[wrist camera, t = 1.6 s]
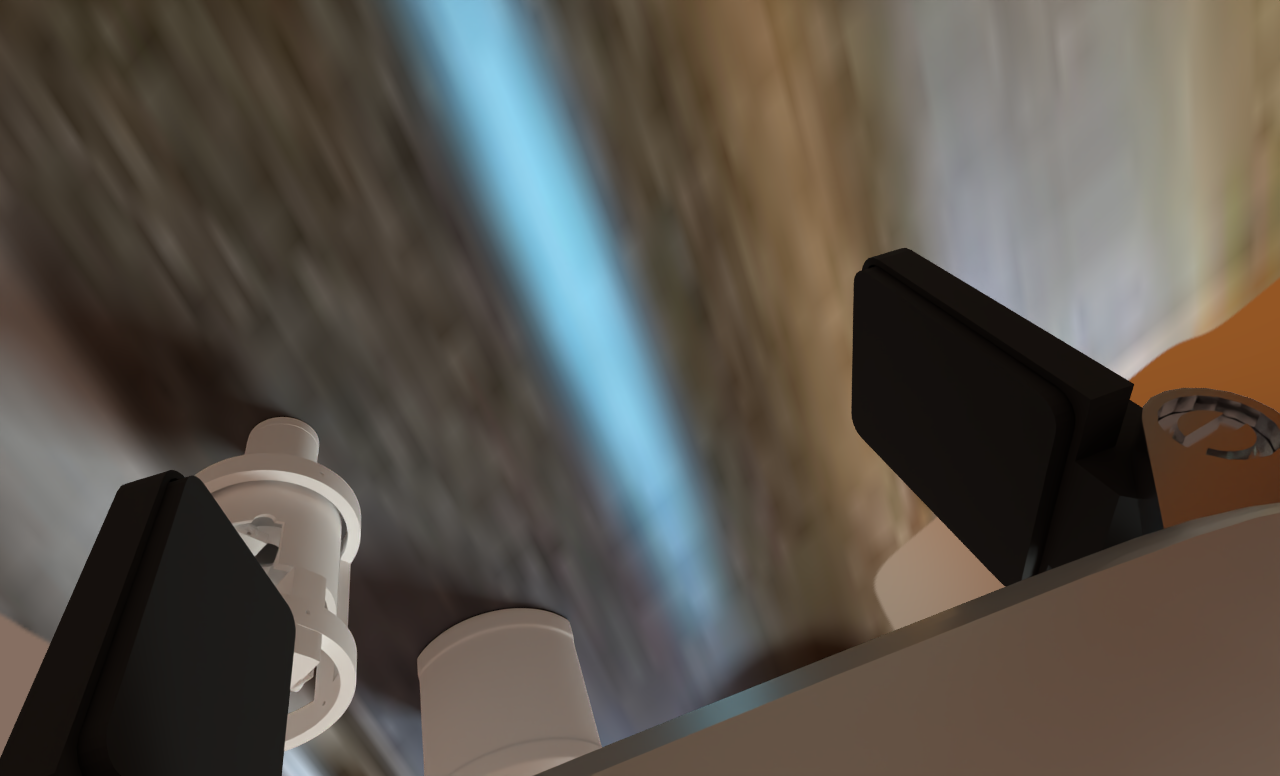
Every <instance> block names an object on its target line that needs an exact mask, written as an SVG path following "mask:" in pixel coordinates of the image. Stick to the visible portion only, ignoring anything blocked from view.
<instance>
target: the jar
mask: <svg viewBox="0 0 1280 776" xmlns="http://www.w3.org/2000/svg"><path fill="white" fill-rule="evenodd" d="M417 668H418V678H419V681H420V699H421V718H422V737H423V756H424V775H425V776H533V775H536V774H538V773H541V772H543V771H546V770H548V769H550V768H553V767H555V766H558V765H560V764H563V763H565V762H568V761H570V760H573V759H575V758H578V757H580V756H582V755H585V754H587V753H590V752H592V751H595V750H597V749H600V748H602V746H601V743H600V739H599V735H598V732H597V728H596V724H595V720H594V717H593V713H592V709H591V705H590V702H589V698H588V694H587V691H586V687H585V683H584V679H583V676H582V672H581V668H580V664H579V661H578V657H577V653H576V649H575V646H574V640H573V634H572V630H571V626H570V623H569V621H568V620H567V619H565V618H563V617H562V616H559V615H557V614H555V613H552V612H548V611H544V610H539V609H531V608H511V609H502V610H496V611H492V612H487V613H484V614H480V615H477V616H474V617H472V618H469V619H467V620H464V621H462V622H460V623H458V624H456V625H454V626H453V627H451V628H449V629H448V630H446V631H444V632H443V633H442V634H440V635H439V636H438V637H436V638H435V639H434V640H433V641H432V642H431V643H430V644H429V645H428V646H427V647H426V648H425V649H424V650H423V651H422V652H421V654H420V655H419V656H418V658H417Z"/></svg>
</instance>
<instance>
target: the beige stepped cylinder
mask: <svg viewBox="0 0 1280 776" xmlns="http://www.w3.org/2000/svg"><path fill="white" fill-rule="evenodd" d="M318 450H319V439H318V436H317V434H316V432H315V431H314V430H313V429H312V428H311V427H310V426H309V425H308V424H306V423H305V422H303V421H300V420H298V419H294V418H289V417H276V418H271V419H267V420H265V421H263V422H261V423H259V424H258V425H256V426H255V427H254V428H253V430H252V431H251V432H250V434H249V437H248V441H247V445H246V450H245V454H244V455H241V456H236V457H232V458H229V459H225V460H223V461H220V462H217V463H215V464H213V465H211V466H209V467H207V468H205V469H203V470H202V471H200V472H199V473H197V474H196V475H195V476H196V477H198V478H199V479H200V480H201V481H202V482H203V483H204V484H205V486H206V487H207V489H208V490H209V492H210V493H211V495H212V496H213V497H214V499H215V500H216V502H217V503H218V505H219V506H220V507H221V509H222V510H223V512H224V513H225V515H226V516H227V518H228V519H229V520H230V522H231V523H232V525H233V526H234V528H235V529H236V531H237V532H238V533H239V535H240V536H241V538H242V539H243V541H244V542H245V543H246V545H247V546H248V548H249V549H250V551H251V552H252V554H253V555H254V556H255V558H256V559H257V561H258V562H259V564H260V565H261V567H262V568H263V569H264V571H265V572H266V574H267V575H268V577H269V578H270V579H271V581H272V582H273V584H274V585H275V587H276V588H277V590H278V591H279V592H280V594H281V595H282V597H283V598H284V600H285V601H286V603H287V604H288V605H289V607H290V609H291V611H292V614H293V617H294V621H295V627H296V636H295V646H294V656H293V666H292V676H291V686H290V690H291V691H294V692H298V691H299V690H300V689H301V688H302V686H303V684H304V683H305V682H307V681H308V680H310V679H311V678H312V677H313V675H314V668H315V667H316V666H317V671H316V683H315V695H314V701H312V702H311V703H309V704H308V705H306V706H304V707H302V708H300V709H298V710H296V711H294V712H292V713H289V714H288V716H287V726H286V736H285V746H284V751H287V750H289V749H292V748H294V747H297V746H299V745H301V744H303V743H305V742H307V741H309V740H311V739H313V738H314V737H316V736H318V735H319V734H321V733H322V732H324V731H325V730H326V729H328V728H329V727H330V726H331V725H333V724H334V723H335V722H336V721H337V720H338V719H339V718H340V717H341V716H342V714H343V713H344V712H345V711H346V709H347V708H348V706H349V704H350V702H351V700H352V698H353V696H354V692H355V688H356V670H357V648H356V644H355V640H354V638H353V636H352V634H351V632H350V630H349V629H348V611H349V588H350V566H351V562H352V561H353V559H354V557H355V556H356V553H357V551H358V548H359V544H360V536H361V510H360V506H359V502H358V500H357V497H356V495H355V494H354V492H353V490H352V489H351V488H350V486H349V485H348V484H347V483H346V482H345V481H344V480H343V479H342V478H341V477H340V476H339V475H337V474H336V473H335V472H333V471H332V470H330V469H328V468H327V467H325V466H323V465H321V464H319V463H317V456H318ZM342 516H343V518H344V520H345V522H346V525H347V532H346V534H345V536H344V538H343V540H342V542H341V529H342Z"/></svg>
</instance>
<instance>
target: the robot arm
mask: <svg viewBox="0 0 1280 776" xmlns="http://www.w3.org/2000/svg"><path fill="white" fill-rule="evenodd" d="M1133 386H1134V384H1133V383H1131V382H1130V381H1128V380H1126V379H1125V378H1123V377H1121V376H1120V375H1118V374H1116V373H1115V372H1113V371H1111V370H1110V369H1108V368H1106V367H1105V366H1103V365H1101V364H1100V363H1098V362H1096V361H1095V360H1093V359H1091V358H1090V357H1088V356H1086V355H1085V354H1083V353H1081V352H1080V351H1078V350H1076V349H1075V348H1073V347H1071V346H1070V345H1068V344H1066V343H1065V342H1063V341H1061V340H1060V339H1058V338H1056V337H1055V336H1053V335H1051V334H1050V333H1048V332H1046V331H1045V330H1043V329H1041V328H1040V327H1038V326H1036V325H1035V324H1033V323H1031V322H1030V321H1028V320H1026V319H1025V318H1023V317H1021V316H1020V315H1018V314H1016V313H1015V312H1013V311H1011V310H1010V309H1008V308H1006V307H1005V306H1003V305H1002V304H1000V303H998V302H997V301H995V300H993V299H992V298H990V297H988V296H987V295H985V294H983V293H982V292H980V291H978V290H977V289H975V288H973V287H972V286H970V285H968V284H967V283H965V282H963V281H962V280H960V279H958V278H957V277H955V276H953V275H952V274H950V273H948V272H947V271H945V270H943V269H942V268H940V267H938V266H937V265H935V264H933V263H932V262H930V261H928V260H927V259H925V258H923V257H922V256H920V255H918V254H917V253H915V252H913V251H912V250H910V249H907V248H902V249H898V250H894V251H891V252H888V253H885V254H881V255H878V256H875V257H871V258H868V259H867V260H866V261H865V263H864V265H863V268H862V271H859V272H858V273H857V274H856V276H855V278H854V304H853V359H852V420H853V424H854V426H855V429H856V430H857V432H858V434H859V435H860V436H861V438H862V439H863V440H864V441H865V442H866V443H867V444H868V445H869V446H870V447H871V448H872V449H873V450H874V451H875V452H876V453H877V454H878V455H879V456H880V457H881V458H882V460H883V461H884V462H885V463H886V464H887V465H888V466H889V467H890V468H891V469H892V470H893V471H894V472H895V473H896V474H897V475H898V476H899V477H900V478H901V479H902V480H903V481H904V482H905V483H906V484H907V486H908V487H909V488H910V489H911V490H912V491H913V492H914V493H915V494H916V495H917V496H918V497H919V498H920V499H921V500H922V501H923V502H924V503H925V504H926V505H927V506H928V507H929V508H930V509H931V511H932V512H933V513H934V514H935V515H936V516H937V517H938V518H939V519H940V520H941V521H942V522H943V523H944V524H945V525H946V526H947V527H948V528H949V529H950V530H951V531H952V532H953V533H954V534H955V536H956V537H958V539H959V540H961V542H962V543H963V544H964V545H965V546H966V547H967V548H968V549H969V550H970V551H971V552H972V553H973V554H974V555H975V556H976V557H977V558H978V559H979V560H980V562H981V563H983V565H984V566H985V567H986V568H987V569H988V570H989V571H990V572H991V573H992V574H993V575H994V576H995V577H996V578H997V579H998V580H999V581H1000V582H1001V583H1002V584H1003V585H1004V586H1006V587H1004V588H1002V589H999V590H996V591H994V592H991V593H989V594H987V595H984V596H981V597H979V598H976V599H974V600H971V601H969V602H966V603H963V604H961V605H959V606H956V607H953V608H951V609H948V610H946V611H943V612H941V613H938V614H936V615H933V616H931V617H928V618H926V619H923V620H920V621H918V622H915V623H913V624H910V625H908V626H905V627H903V628H900V629H898V630H895V631H893V632H890V633H887V634H885V635H882V636H880V637H877V638H875V639H872V640H870V641H867V642H865V643H862V644H860V645H857V646H855V647H852V648H849V649H847V650H844V651H842V652H839V653H837V654H834V655H832V656H829V657H827V658H824V659H822V660H819V661H817V662H814V663H812V664H809V665H807V666H804V667H802V668H799V669H797V670H794V671H792V672H789V673H787V674H784V675H782V676H779V677H777V678H774V679H772V680H769V681H767V682H764V683H762V684H759V685H757V686H754V687H752V688H749V689H747V690H744V691H742V692H739V693H737V694H734V695H732V696H729V697H727V698H724V699H722V700H719V701H717V702H714V703H712V704H709V705H707V706H704V707H702V708H699V709H697V710H694V711H692V712H689V713H687V714H684V715H682V716H679V717H677V718H675V719H672V720H670V721H667V722H665V723H662V724H660V725H657V726H655V727H652V728H650V729H647V730H645V731H642V732H640V733H637V734H635V735H632V736H630V737H627V738H625V739H622V740H620V741H617V742H615V743H612V744H610V745H607V746H605V747H602V748H600V749H597V750H595V751H592V752H590V753H587V754H585V755H582V756H580V757H578V758H575V759H573V760H570V761H568V762H565V763H563V764H560V765H558V766H555V767H553V768H550V769H548V770H546V771H543V772H541V773H538V774H536V775H533V776H1280V413H1278V412H1277V411H1275V410H1274V409H1272V408H1270V407H1268V406H1266V405H1264V404H1262V403H1260V402H1258V401H1256V400H1254V399H1251V398H1248V397H1244V396H1241V395H1238V394H1234V393H1231V392H1227V391H1220V390H1213V389H1207V388H1181V389H1175V390H1169V391H1164V392H1162V393H1160V394H1158V395H1156V396H1154V397H1152V398H1150V399H1149V400H1148V402H1147V403H1146V404H1145V405H1144V406H1143V408H1142V407H1140V406H1139V405H1137V404H1135V403H1134V402H1132V401H1131V400H1130V396H1131V393H1132V390H1133ZM295 636H296V627H295V621H294V617H293V614H292V611H291V609H290V607H289V605H288V604H287V603H286V601H285V600H284V598H283V597H282V595H281V594H280V592H279V591H278V590H277V588H276V587H275V585H274V584H273V582H272V581H271V579H270V578H269V577H268V575H267V574H266V572H265V571H264V569H263V568H262V567H261V565H260V564H259V562H258V561H257V559H256V558H255V556H254V555H253V554H252V552H251V551H250V549H249V548H248V546H247V545H246V543H245V542H244V541H243V539H242V538H241V536H240V535H239V533H238V532H237V531H236V529H235V528H234V526H233V525H232V523H231V522H230V520H229V519H228V518H227V516H226V515H225V513H224V512H223V510H222V509H221V507H220V506H219V505H218V503H217V502H216V500H215V499H214V497H213V496H212V495H211V493H210V492H209V490H208V489H207V487H206V486H205V484H204V483H203V482H202V481H201V480H200V479H199V478H198V477H196V476H189V477H186V478H185V477H184V476H183V475H182V474H180V473H179V472H177V471H174V470H170V471H166V472H163V473H160V474H156V475H153V476H150V477H147V478H143V479H140V480H137V481H133V482H130V483H127V484H125V485H122V486H121V487H120V488H119V490H118V491H117V493H116V495H115V498H114V500H113V502H112V505H111V507H110V509H109V511H108V514H107V516H106V518H105V520H104V523H103V525H102V527H101V530H100V532H99V534H98V536H97V539H96V541H95V543H94V546H93V548H92V550H91V552H90V555H89V557H88V559H87V561H86V564H85V566H84V568H83V571H82V573H81V575H80V577H79V580H78V582H77V584H76V587H75V589H74V591H73V593H72V596H71V598H70V600H69V602H68V605H67V607H66V609H65V612H64V614H63V616H62V618H61V621H60V623H59V625H58V628H57V630H56V632H55V634H54V637H53V639H52V641H51V643H50V646H49V648H48V650H47V653H46V655H45V657H44V659H43V662H42V664H41V666H40V669H39V671H38V673H37V675H36V678H35V680H34V682H33V685H32V687H31V689H30V691H29V694H28V696H27V698H26V701H25V703H24V705H23V707H22V709H21V712H20V714H19V716H18V719H17V721H16V723H15V725H14V728H13V730H12V733H11V735H10V737H9V739H8V741H7V744H6V746H5V748H4V751H3V753H2V755H1V757H0V776H282V766H283V756H284V746H285V736H286V726H287V716H288V706H289V696H290V686H291V676H292V666H293V656H294V646H295Z"/></svg>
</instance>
